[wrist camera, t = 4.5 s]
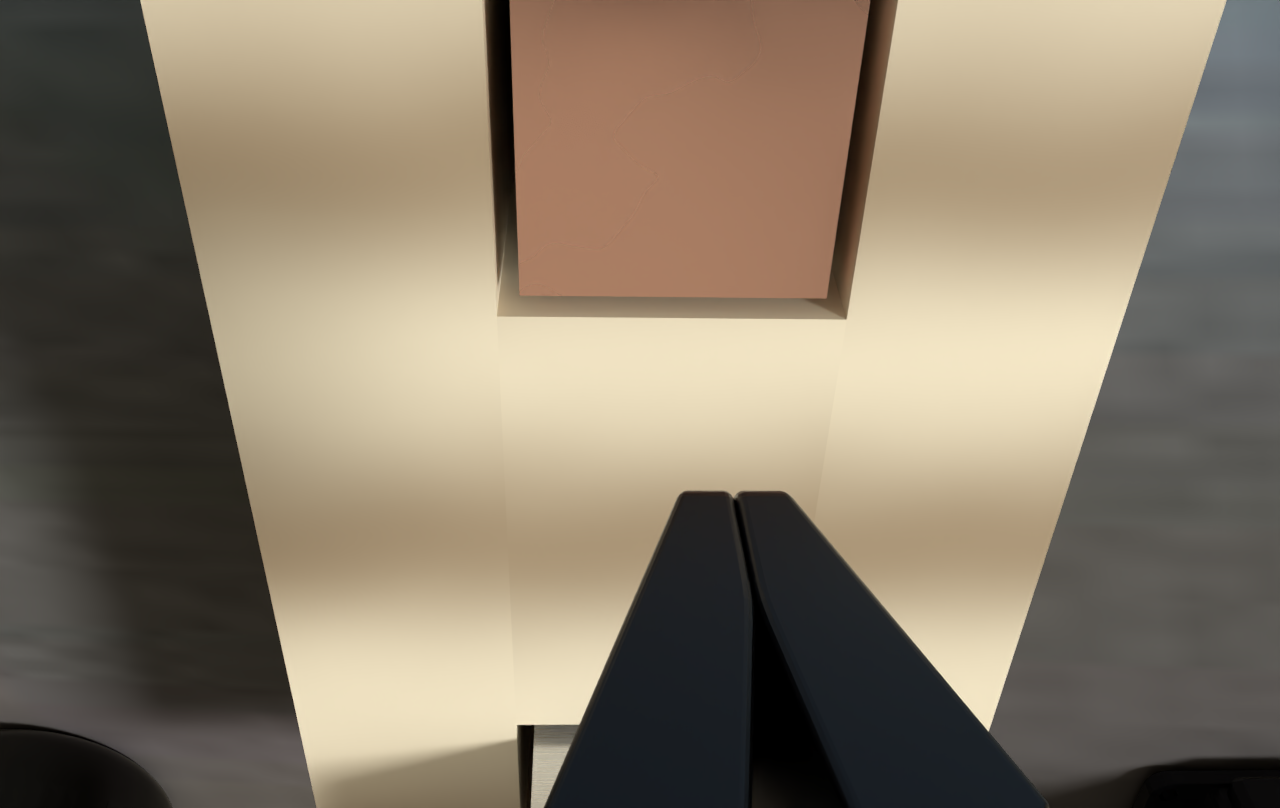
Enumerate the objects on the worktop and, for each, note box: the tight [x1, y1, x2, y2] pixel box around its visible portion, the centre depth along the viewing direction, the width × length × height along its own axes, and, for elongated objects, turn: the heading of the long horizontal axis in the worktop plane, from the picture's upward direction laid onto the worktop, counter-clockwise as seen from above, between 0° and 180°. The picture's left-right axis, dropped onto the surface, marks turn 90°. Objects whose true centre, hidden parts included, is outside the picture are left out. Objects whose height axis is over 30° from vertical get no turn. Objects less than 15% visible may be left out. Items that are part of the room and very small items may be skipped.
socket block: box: [140, 0, 1226, 808], centre depth 21 cm, size 20×12×6 cm, turn 178°
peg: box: [510, 0, 870, 299], centre depth 17 cm, size 4×4×6 cm
